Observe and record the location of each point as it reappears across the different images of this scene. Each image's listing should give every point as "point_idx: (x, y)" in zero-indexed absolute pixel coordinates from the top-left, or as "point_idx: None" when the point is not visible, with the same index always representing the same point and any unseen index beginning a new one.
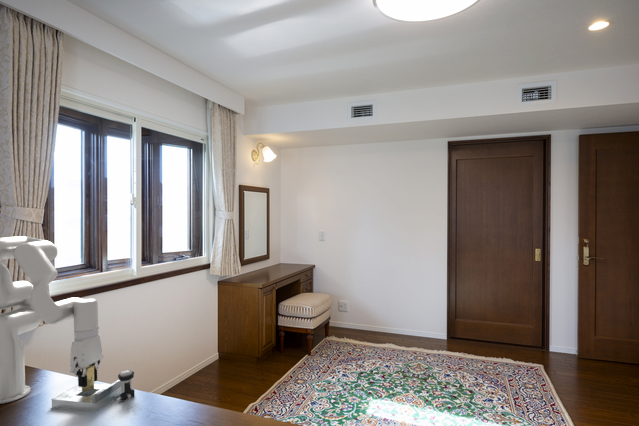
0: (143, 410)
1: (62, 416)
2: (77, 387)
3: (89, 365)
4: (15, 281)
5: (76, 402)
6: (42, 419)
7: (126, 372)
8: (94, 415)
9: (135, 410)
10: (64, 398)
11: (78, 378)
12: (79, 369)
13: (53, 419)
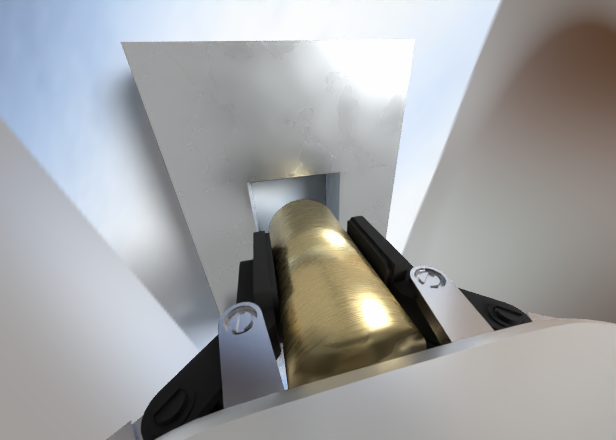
0: (286, 380)
1: (134, 220)
2: (340, 85)
3: (403, 355)
4: None
5: (199, 249)
6: (38, 145)
7: None
8: (211, 315)
9: (280, 369)
10: (185, 150)
11: (236, 302)
12: (257, 389)
13: (88, 205)
